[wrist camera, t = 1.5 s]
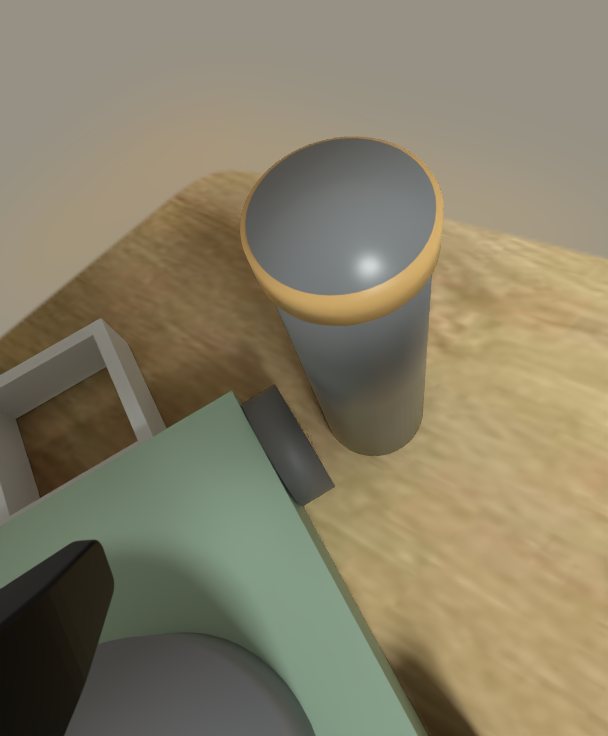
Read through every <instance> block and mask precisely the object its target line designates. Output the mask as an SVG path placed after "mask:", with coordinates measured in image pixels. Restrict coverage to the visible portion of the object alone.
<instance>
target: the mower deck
mask: <svg viewBox="0 0 608 736" xmlns="http://www.w3.org/2000/svg"><path fill="white" fill-rule="evenodd" d="M105 367H107V369H108V371H109V374H110V376H111V378H112V381H113V383H114V385H115V388H116V390H117V393H118V395H119V397H120V400H121V402H122V404H123V407H124V409H125V411H126V414H127V416H128V419H129V421H130V423H131V426H132V428H133V430H134V433H135V435H136V438H137V440H138V441H137V442H135V443H133V444H132V445H130V446H128V447H126V448H125V449H123V450H121V451H120V452H118V453H116V454H114V455H113V456H111V457H109V458H108V459H106V460H104V461H103V462H101V463H99V464H97V465H96V466H94V467H92V468H91V469H89V470H87V471H86V472H84V473H82V474H80V475H79V476H77V477H75V478H74V479H72V480H70V481H68V482H67V483H65V484H63V485H62V486H60V487H58V488H57V489H55V490H53V491H51V492H50V493H48V494H46V495H45V496H43V497H41V498H40V495H39V492H38V489H37V486H36V483H35V479H34V476H33V473H32V470H31V466H30V463H29V460H28V457H27V454H26V450H25V447H24V444H23V441H22V437H21V434H20V431H19V428H18V425H17V421H16V419H17V418H18V417H20V416H22V415H24V414H25V413H27V412H29V411H31V410H32V409H34V408H36V407H38V406H39V405H41V404H43V403H44V402H46V401H48V400H50V399H51V398H53V397H55V396H57V395H58V394H60V393H62V392H64V391H65V390H67V389H69V388H71V387H72V386H74V385H76V384H77V383H79V382H81V381H83V380H84V379H86V378H88V377H90V376H91V375H93V374H95V373H97V372H98V371H100V370H102V369H103V368H105ZM334 487H335V485H334V484H333V482H332V480H331V479H330V477H329V475H328V473H327V472H326V470H325V468H324V467H323V465H322V463H321V461H320V460H319V458H318V456H317V455H316V453H315V451H314V449H313V448H312V446H311V444H310V443H309V441H308V439H307V438H306V436H305V434H304V432H303V431H302V429H301V427H300V426H299V424H298V422H297V421H296V419H295V417H294V416H293V414H292V412H291V411H290V409H289V407H288V405H287V404H286V402H285V400H284V399H283V397H282V395H281V394H280V392H279V390H278V389H277V387H276V385H273V386H271V387H269V388H268V389H266V390H264V391H263V392H261V393H259V394H258V395H256V396H254V397H252V398H251V399H249V400H247V401H246V402H244V403H241V402H240V400H239V399H238V398H237V397H236V395H235V394H234V393H233V392H232V391H230V392H228V393H226V394H225V395H223V396H221V397H220V398H218V399H216V400H214V401H213V402H211V403H209V404H208V405H206V406H204V407H203V408H201V409H199V410H197V411H196V412H194V413H192V414H191V415H189V416H187V417H186V418H184V419H182V420H180V421H179V422H177V423H175V424H174V425H172V426H170V427H169V428H166V426H165V424H164V422H163V420H162V417H161V415H160V413H159V411H158V409H157V406H156V404H155V402H154V400H153V398H152V396H151V393H150V391H149V389H148V387H147V385H146V382H145V380H144V378H143V376H142V374H141V371H140V369H139V367H138V365H137V363H136V360H135V358H134V356H133V354H132V352H131V349H130V347H129V345H128V343H127V342H126V341H125V340H124V339H123V338H122V337H121V336H120V335H119V334H118V333H117V332H115V331H114V330H113V329H112V328H111V327H110V326H109V325H108V324H107V323H106V322H105V321H104V320H103V319H102V318H100V319H98V320H96V321H94V322H92V323H91V324H89V325H87V326H85V327H84V328H82V329H80V330H78V331H77V332H75V333H73V334H71V335H70V336H68V337H66V338H64V339H63V340H61V341H59V342H57V343H56V344H54V345H52V346H50V347H49V348H47V349H45V350H43V351H42V352H40V353H38V354H36V355H35V356H33V357H31V358H29V359H28V360H26V361H24V362H22V363H21V364H19V365H17V366H15V367H13V368H12V369H10V370H8V371H6V372H5V373H3V374H1V375H0V589H1V588H2V587H4V586H5V585H7V584H8V583H10V582H12V581H13V580H15V579H16V578H18V577H19V576H21V575H22V574H24V573H25V572H27V571H28V570H30V569H32V568H33V567H35V566H36V565H38V564H39V563H41V562H42V561H44V560H45V559H47V558H48V557H50V556H52V555H53V554H55V553H56V552H58V551H59V550H61V549H62V548H64V547H65V546H67V545H68V544H70V543H72V542H74V541H80V540H93V539H95V540H98V541H99V542H100V543H101V544H102V546H103V548H104V551H105V554H106V557H107V560H108V563H109V565H110V568H111V571H112V574H113V577H114V593H113V596H112V600H111V603H110V606H109V610H108V613H107V616H106V619H105V623H104V626H103V629H102V633H101V636H100V639H99V643H98V646H97V649H96V652H95V656H94V659H93V662H92V666H91V669H90V672H89V675H88V678H87V681H86V683H85V686H84V689H83V691H82V694H81V696H80V699H79V701H78V704H77V706H76V709H75V711H74V714H73V716H72V719H71V721H70V723H69V726H68V728H67V731H66V733H65V736H428V734H427V732H426V730H425V728H424V727H423V725H422V723H421V721H420V719H419V718H418V716H417V714H416V712H415V710H414V708H413V707H412V705H411V703H410V701H409V699H408V697H407V696H406V694H405V692H404V690H403V688H402V686H401V685H400V683H399V681H398V679H397V677H396V676H395V674H394V672H393V670H392V668H391V666H390V665H389V663H388V661H387V659H386V657H385V655H384V654H383V652H382V650H381V648H380V646H379V644H378V643H377V641H376V639H375V637H374V635H373V634H372V632H371V630H370V628H369V626H368V624H367V623H366V621H365V619H364V617H363V615H362V613H361V612H360V610H359V608H358V606H357V604H356V602H355V601H354V599H353V597H352V595H351V593H350V592H349V590H348V588H347V586H346V584H345V582H344V581H343V579H342V577H341V575H340V573H339V571H338V570H337V568H336V566H335V564H334V562H333V560H332V559H331V557H330V555H329V553H328V551H327V550H326V548H325V546H324V544H323V542H322V540H321V539H320V537H319V535H318V533H317V531H316V529H315V528H314V526H313V524H312V522H311V520H310V518H309V517H308V515H307V513H306V511H305V509H304V508H303V506H304V505H306V504H307V503H309V502H311V501H312V500H314V499H315V498H317V497H319V496H320V495H322V494H324V493H325V492H327V491H329V490H330V489H332V488H334Z"/></svg>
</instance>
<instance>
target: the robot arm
mask: <svg viewBox="0 0 608 736" xmlns="http://www.w3.org/2000/svg"><path fill="white" fill-rule="evenodd" d="M113 593H114V577H113V574H112V571H111V568H110V565H109V563H108V560H107V557H106V554H105V551H104V548H103V546H102V544H101V543H100V542H99V541H98V540H95V539H93V540H80V541H74V542H72V543H70V544H68V545H67V546H65V547H64V548H62V549H61V550H59V551H58V552H56V553H55V554H53V555H52V556H50V557H48V558H47V559H45V560H44V561H42V562H41V563H39V564H38V565H36V566H35V567H33V568H32V569H30V570H28V571H27V572H25V573H24V574H22V575H21V576H19V577H18V578H16V579H15V580H13V581H12V582H10V583H8V584H7V585H5V586H4V587H2V588H1V589H0V736H65V733H66V731H67V728H68V726H69V723H70V721H71V719H72V716H73V714H74V711H75V709H76V706H77V704H78V701H79V699H80V696H81V694H82V691H83V689H84V686H85V683H86V681H87V678H88V675H89V672H90V669H91V666H92V662H93V659H94V656H95V652H96V649H97V646H98V643H99V639H100V636H101V633H102V629H103V626H104V623H105V619H106V616H107V613H108V610H109V606H110V603H111V600H112V596H113Z"/></svg>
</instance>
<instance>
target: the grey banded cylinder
mask: <svg viewBox="0 0 608 736" xmlns="http://www.w3.org/2000/svg"><path fill="white" fill-rule="evenodd" d="M443 210H444V208H443V198H442V194H441V190H440V187H439V185H438V183H437V181H436V178H435V177H434V175H433V174H432V172H431V171H430V169H429V168H428V167H427V166H426V165H425V164H424V163H423V162H422V161H421V160H420V159H419V158H417V157H416V156H415V155H414V154H412V153H411V152H409V151H407V150H406V149H404V148H402V147H400V146H397V145H395V144H393V143H390V142H387V141H383V140H379V139H374V138H367V137H340V138H333V139H327V140H323V141H319V142H316V143H313V144H309V145H307V146H305V147H302V148H300V149H298V150H296V151H294V152H292V153H290V154H288V155H287V156H285V157H284V158H282V159H281V160H279V161H278V162H277V163H275V164H274V165H273V166H272V167H271V168H269V169H268V170H267V171H266V172H265V173H264V174H263V176H262V177H261V178H260V179H259V180H258V181H257V183H256V184H255V185H254V187H253V188H252V190H251V192H250V194H249V195H248V197H247V200H246V202H245V205H244V207H243V211H242V215H241V222H240V237H241V242H242V247H243V250H244V252H245V255H246V257H247V260H248V262H249V264H250V266H251V268H252V270H253V272H254V275H255V277H256V279H257V281H258V283H259V285H260V287H261V288H262V290H263V292H264V293H265V294H266V295H267V297H268V298H269V299H270V300H271V301H272V302H273V303H274V304H275V305H276V308H277V310H278V312H279V314H280V317H281V319H282V321H283V323H284V326H285V328H286V330H287V332H288V335H289V337H290V339H291V341H292V344H293V346H294V348H295V351H296V353H297V355H298V357H299V360H300V362H301V364H302V366H303V369H304V371H305V373H306V375H307V378H308V380H309V382H310V384H311V387H312V389H313V391H314V393H315V396H316V398H317V400H318V403H319V405H320V407H321V409H322V412H323V414H324V416H325V418H326V421H327V423H328V425H329V427H330V430H331V431H332V433H333V435H334V436H335V437H336V439H337V440H338V441H339V442H340V443H341V444H342V445H344V446H345V447H346V448H348V449H350V450H351V451H354V452H356V453H359V454H363V455H369V456H380V455H386V454H389V453H392V452H395V451H397V450H399V449H400V448H402V447H403V446H405V445H406V444H407V443H408V442H409V441H410V440H411V439H412V438H413V437H414V435H415V434H416V432H417V431H418V429H419V426H420V424H421V420H422V415H423V402H424V386H425V371H426V356H427V341H428V326H429V310H430V295H431V280H432V273H433V271H434V269H435V266H436V264H437V262H438V258H439V254H440V248H441V236H442V224H443Z"/></svg>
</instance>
